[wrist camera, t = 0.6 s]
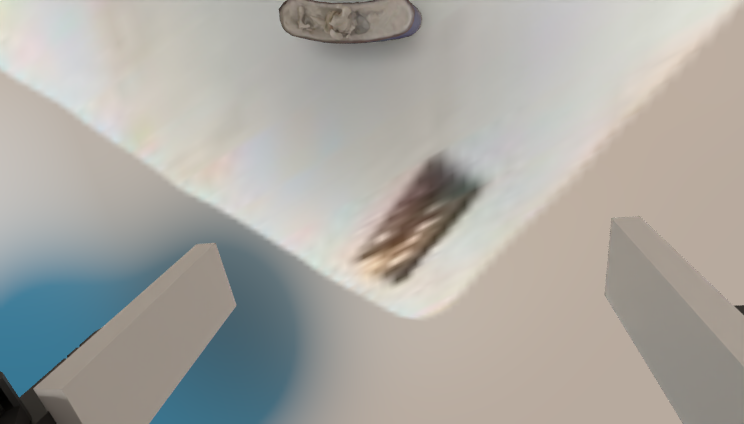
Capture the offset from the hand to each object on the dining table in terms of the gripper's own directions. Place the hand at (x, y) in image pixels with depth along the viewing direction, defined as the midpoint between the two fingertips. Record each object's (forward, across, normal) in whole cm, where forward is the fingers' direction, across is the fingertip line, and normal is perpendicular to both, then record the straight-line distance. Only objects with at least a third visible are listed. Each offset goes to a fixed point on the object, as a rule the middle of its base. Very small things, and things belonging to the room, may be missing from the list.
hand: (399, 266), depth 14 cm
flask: (+26, -4, +8) cm, 28 cm away
